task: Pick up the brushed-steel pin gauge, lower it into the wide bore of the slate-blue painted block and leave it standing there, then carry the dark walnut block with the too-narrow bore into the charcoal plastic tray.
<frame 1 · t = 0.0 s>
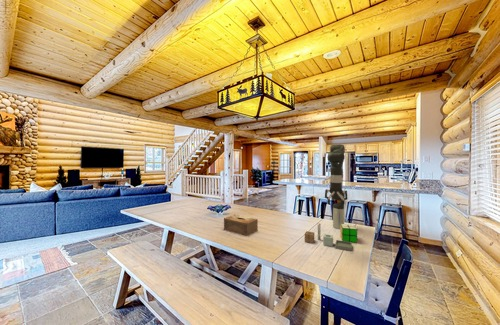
hand: (335, 205, 139), 29 cm above the table, fingers open, 8 cm apart
pin gauge: (319, 239, 153), on the table
tissue box cover: (240, 230, 174), on the table
puzzle cube: (348, 239, 153), on the table
slate block: (328, 244, 144), on the table
walnut block: (309, 241, 150), on the table
tray: (343, 246, 140), on the table
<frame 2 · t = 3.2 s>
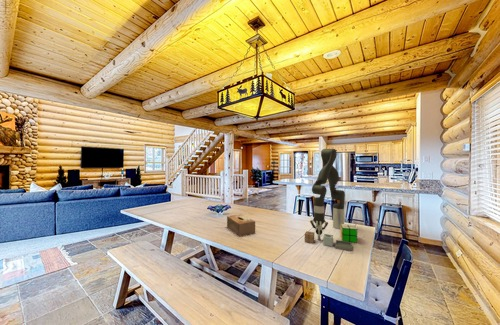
hand: (319, 234, 152), 4 cm above the table, fingers closed on pin gauge, 2 cm apart
pin gauge: (319, 239, 153), on the table, touching gripper
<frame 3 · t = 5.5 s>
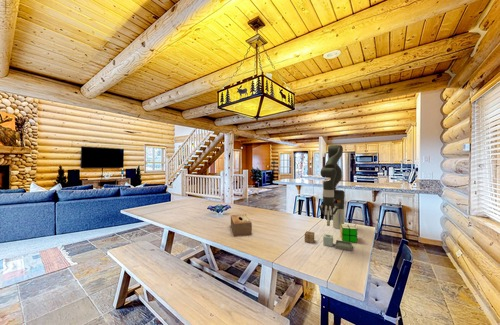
hand: (328, 219, 144), 18 cm above the table, fingers closed on pin gauge
pin gauge: (328, 225, 144), point 13 cm above the table, touching gripper
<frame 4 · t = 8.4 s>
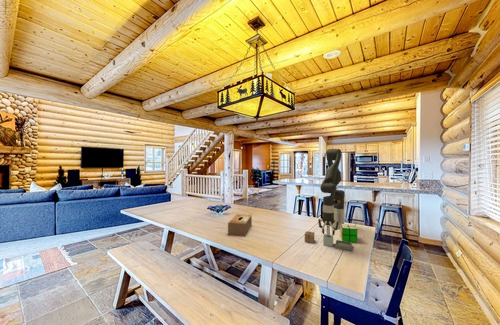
hand: (328, 234, 144), 7 cm above the table, fingers open, 5 cm apart
pin gauge: (328, 242, 144), point 1 cm above the table, touching slate block
slate block: (328, 244, 144), on the table, touching pin gauge
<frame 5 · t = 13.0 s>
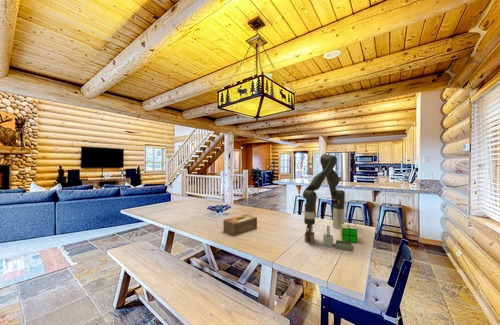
hand: (309, 239, 150), 1 cm above the table, fingers closed on walnut block, 6 cm apart
walnut block: (309, 241, 150), on the table, touching gripper
when the fingers open (4 cm above the table, at t = 20.0 s): walnut block drops 2 cm, resting on tray.
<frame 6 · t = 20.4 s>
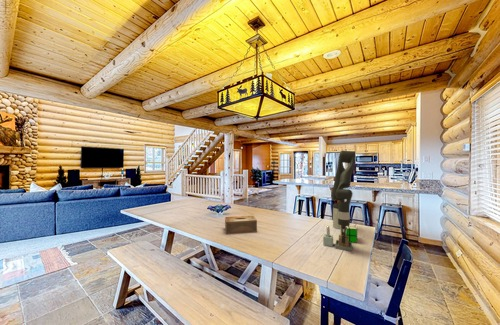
hand: (343, 241, 140), 4 cm above the table, fingers open, 8 cm apart
walnut block: (343, 245, 140), point 1 cm above the table, touching tray
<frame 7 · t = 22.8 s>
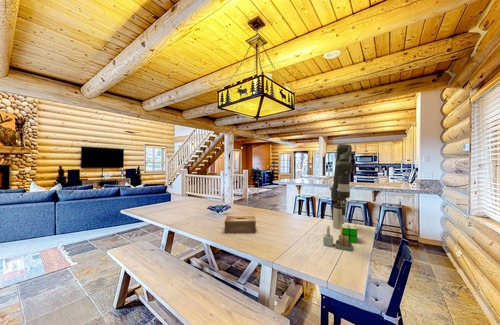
hand: (343, 213, 139), 23 cm above the table, fingers open, 8 cm apart
at the end: walnut block 0.2 cm off-centre on the tray, point 0.8 cm above the tray's base; pin gauge 0.1 cm from the slate block (horizontally); pin gauge point 1.0 cm above the table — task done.
